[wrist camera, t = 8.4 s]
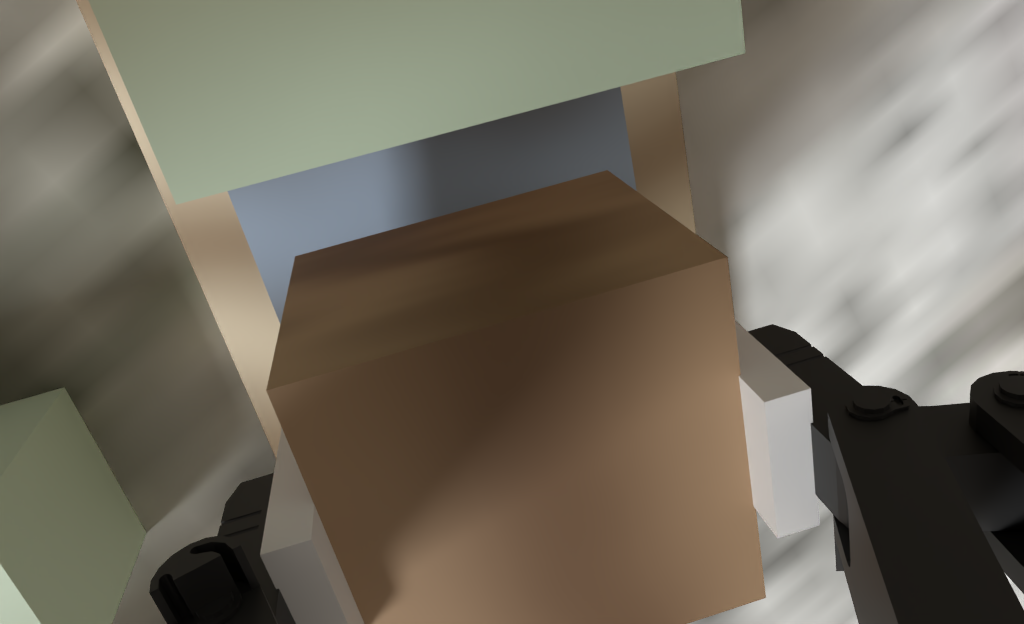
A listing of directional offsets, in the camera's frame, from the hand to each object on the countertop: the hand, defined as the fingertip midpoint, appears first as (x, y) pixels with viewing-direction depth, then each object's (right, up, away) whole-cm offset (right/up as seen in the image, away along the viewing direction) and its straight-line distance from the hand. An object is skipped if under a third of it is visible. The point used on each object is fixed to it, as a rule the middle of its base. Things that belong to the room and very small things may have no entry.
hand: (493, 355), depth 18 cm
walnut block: (0, 0, 0) cm, 0 cm away
